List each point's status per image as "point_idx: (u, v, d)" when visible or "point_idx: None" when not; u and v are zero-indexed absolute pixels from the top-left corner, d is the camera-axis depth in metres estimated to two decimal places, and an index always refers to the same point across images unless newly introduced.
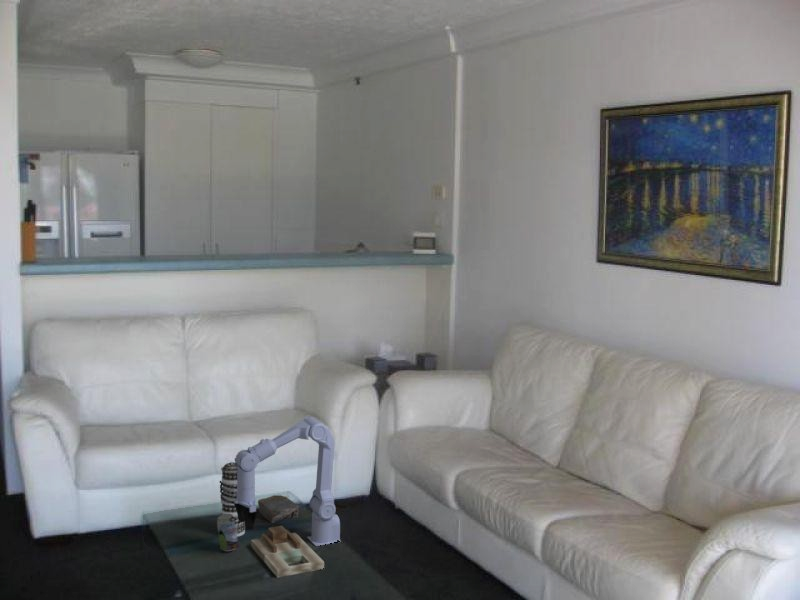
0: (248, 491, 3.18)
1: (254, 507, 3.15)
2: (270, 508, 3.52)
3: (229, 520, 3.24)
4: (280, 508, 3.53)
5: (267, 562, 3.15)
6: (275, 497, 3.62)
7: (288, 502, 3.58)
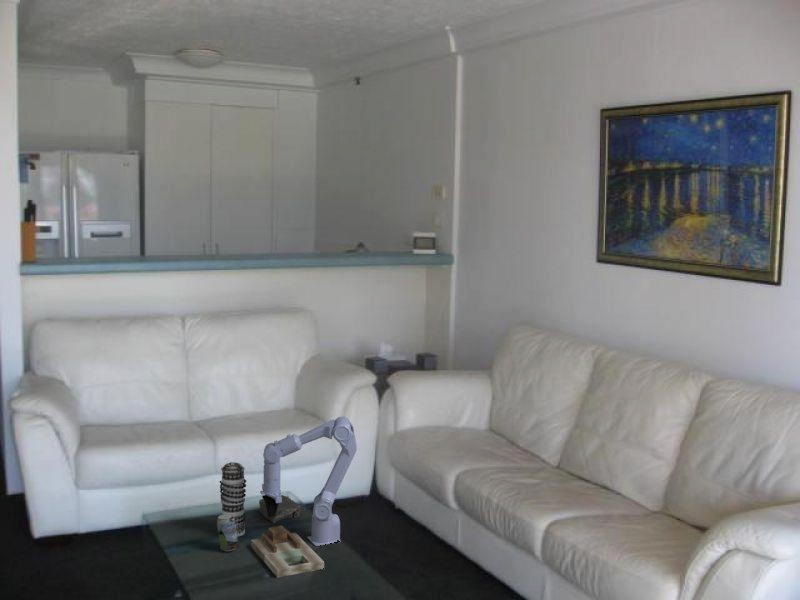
0: (274, 482, 3.29)
1: (280, 498, 3.26)
2: None
3: (229, 520, 3.24)
4: (281, 507, 3.53)
5: (267, 562, 3.15)
6: None
7: (289, 502, 3.58)
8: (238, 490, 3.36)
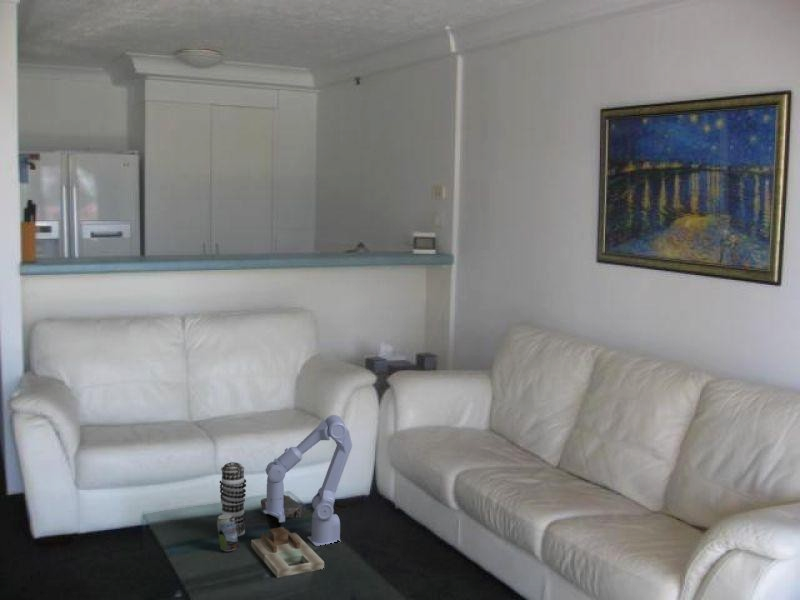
0: (278, 501, 3.27)
1: (283, 517, 3.24)
2: None
3: (229, 520, 3.24)
4: (283, 507, 3.54)
5: (267, 562, 3.15)
6: None
7: (290, 502, 3.59)
8: (238, 490, 3.36)
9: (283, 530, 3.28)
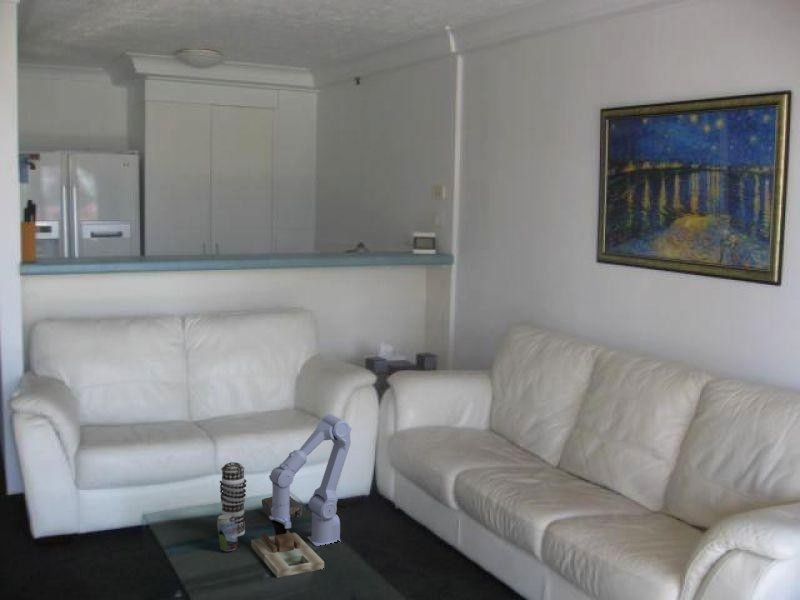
0: (284, 507, 3.22)
1: (289, 523, 3.19)
2: None
3: (229, 520, 3.24)
4: None
5: (267, 562, 3.15)
6: None
7: (291, 501, 3.59)
8: (238, 490, 3.36)
9: (289, 536, 3.23)
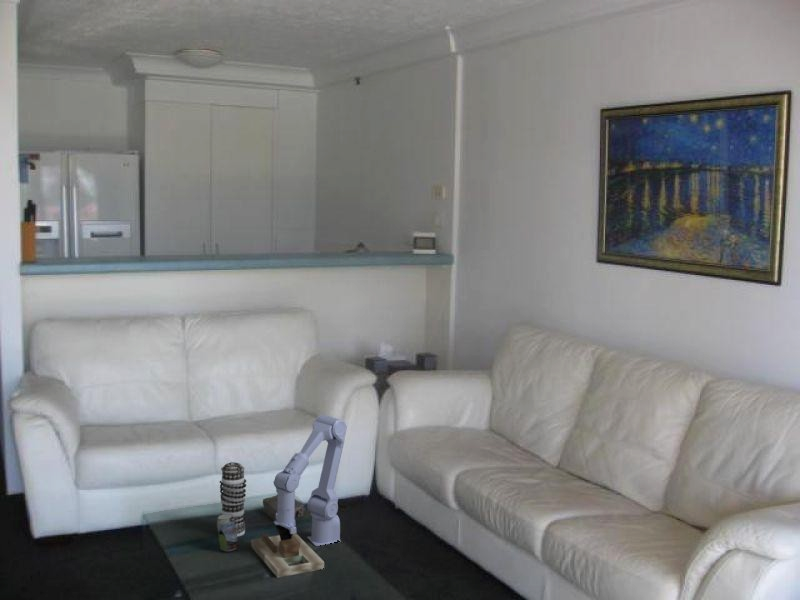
0: (289, 512, 3.18)
1: (295, 529, 3.15)
2: (275, 507, 3.53)
3: (229, 520, 3.24)
4: None
5: (267, 562, 3.15)
6: None
7: None
8: (238, 490, 3.36)
9: (294, 542, 3.19)
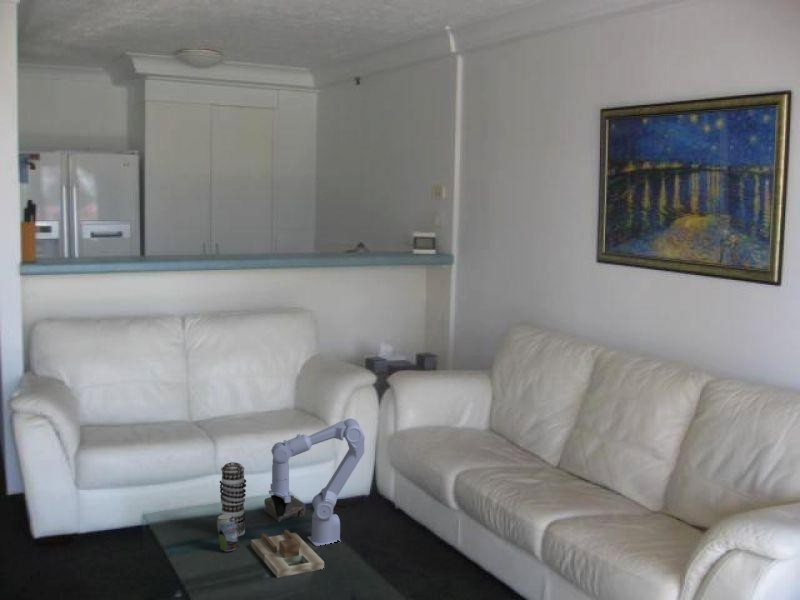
0: (283, 482, 3.28)
1: (289, 498, 3.25)
2: None
3: (229, 520, 3.24)
4: (287, 506, 3.54)
5: (267, 562, 3.15)
6: None
7: (294, 501, 3.60)
8: (238, 490, 3.36)
9: (294, 542, 3.19)
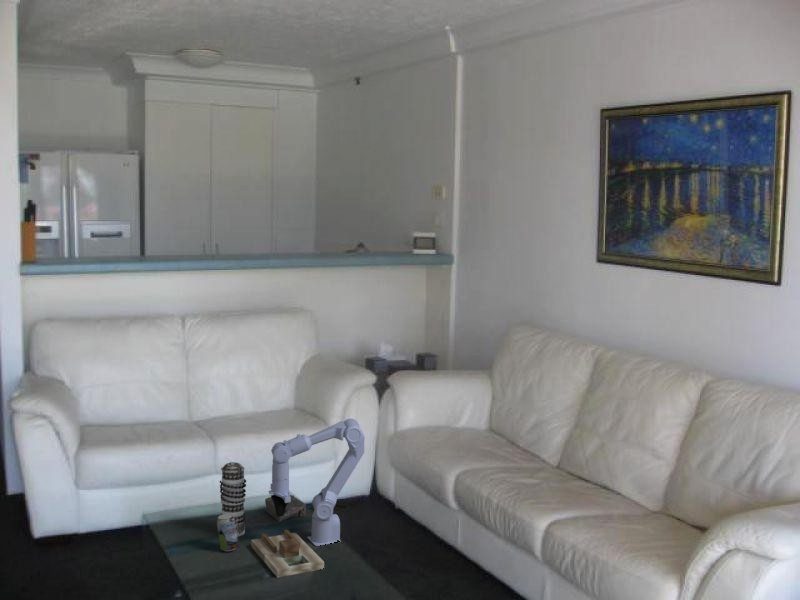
0: (283, 482, 3.28)
1: (289, 498, 3.25)
2: None
3: (229, 520, 3.24)
4: (287, 506, 3.55)
5: (267, 562, 3.15)
6: None
7: (295, 501, 3.60)
8: (238, 490, 3.36)
9: (294, 542, 3.19)
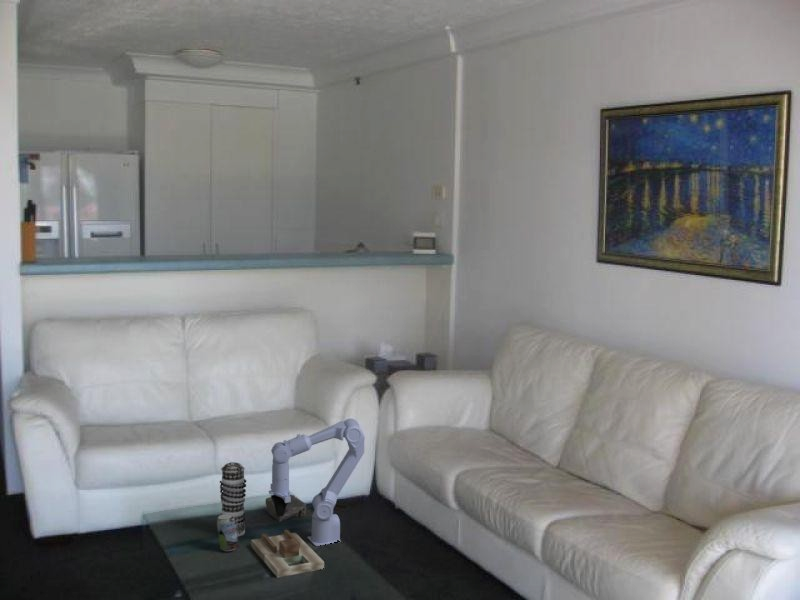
0: (283, 482, 3.28)
1: (289, 498, 3.25)
2: None
3: (229, 520, 3.24)
4: (288, 506, 3.55)
5: (267, 562, 3.15)
6: None
7: (295, 501, 3.60)
8: (238, 490, 3.36)
9: (294, 542, 3.19)
